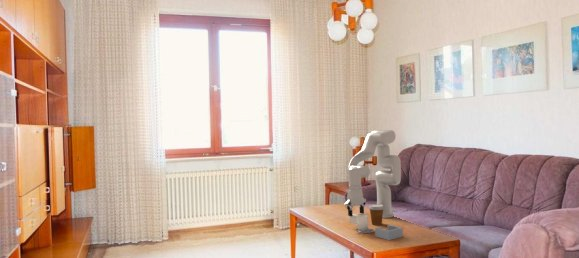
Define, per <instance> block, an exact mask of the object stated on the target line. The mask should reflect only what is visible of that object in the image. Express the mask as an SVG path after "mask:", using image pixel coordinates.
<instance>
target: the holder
mask: <svg viewBox="0 0 579 258" xmlns="http://www.w3.org/2000/svg"><path fill="white" fill-rule="evenodd" d="M386 227H387V229H385V228H380V227H375V228H374V232H375V237H377V238H380V239H384V240H387V241H391V240H394V239H398V238H402V237H404V236H403V234H404V233H403V227H400V226H397V225H392V224H387V226H386Z"/></svg>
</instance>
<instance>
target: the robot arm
mask: <svg viewBox="0 0 579 258" xmlns="http://www.w3.org/2000/svg"><path fill="white" fill-rule="evenodd" d="M396 136H397V135H396V132H395V131H394V130H392V129H375V130H372V131H370V132H369V133H367V134H366V136H365V139H364V142H363V145H362V147H361V149H360V151H358V152H357V153H356V154H355V155H354V156H353V157H351V159H350V161H349V163H348V166H347V171H346V172H347V174H348V190H347V195H346V196H347V197H346V202H345V203H344V206H345V208H346V210H347V213H348V214H347V216H348V217H350V216H351V217H352V216H353V215H352V214H353V208H354V207H359V214H365V209H364V208H365V206H366V204H367V203H366V202H367V199H366V198H364V193H363V189H362V186H363V185H362V179H363V178H364V179H365V178H368V177H369V176H370V174H371V170H370V167H369V166H367V165H359V163H362V162H363V161H366V160H369V159H370V158H373V156H374V155H375V151H376V165H377V167H378V168H380V169H387V170H377V171H376V172H375V174H374V180H375V185H376V204H381V205H383V207H384V209H383V216H382V219H389V218H393V217H394V216H395V214H394V212H397V209H396V208H392V192H391V187H390V186H398V185H400V184H401V178H402V169H401V168H402V167H401V166H402V164H401V163H402V162H401V158H400V156H398V155H397V154H390V151H391V150H390V144H392V143H394V141H396V140H395V139H396ZM388 169H389V170H388ZM389 185H390V186H389Z"/></svg>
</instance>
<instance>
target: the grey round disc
mask: <svg viewBox="0 0 579 258" xmlns="http://www.w3.org/2000/svg"><path fill="white" fill-rule="evenodd" d="M356 232H357V233H359V234H372V233H374V232H375V229H373V228H369V227H368V231H359V230H358V229H357V230H356Z"/></svg>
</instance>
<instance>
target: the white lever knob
mask: <svg viewBox="0 0 579 258" xmlns="http://www.w3.org/2000/svg"><path fill="white" fill-rule="evenodd" d="M352 215H353V216H352V217H351V216H349V223H351V224H353V225H354V224H355V225H357V230H359V231H368V228H369V215H368V213H364V214H362V213H358V214H355V213H352Z"/></svg>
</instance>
